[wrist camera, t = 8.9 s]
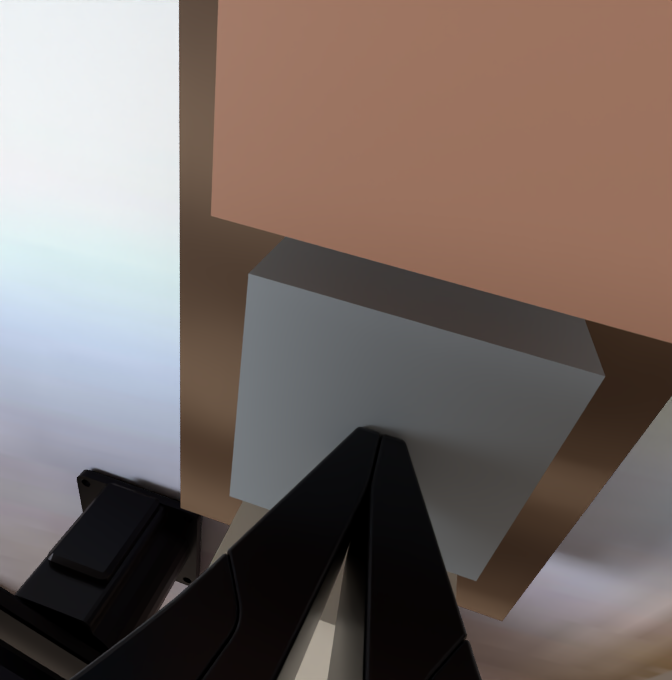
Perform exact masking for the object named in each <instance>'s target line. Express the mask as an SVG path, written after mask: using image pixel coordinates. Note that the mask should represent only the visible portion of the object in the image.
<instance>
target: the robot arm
mask: <svg viewBox="0 0 672 680" xmlns="http://www.w3.org/2000/svg"><path fill="white" fill-rule="evenodd" d="M380 437H381V438H380ZM77 483H78V489H79V494H80V499H81V505H82V510H83V513H82V514H81V515H80V517H79V518H78V519H77V520H76V521H75V522H74V524H73V525H72V526H71V527H70V528H69V530H68V531H67V532H66V533H65V534H64V535H63V537H62V538H61V539H60V540H59V541H58V543H57V544H56V545H55V546H54V547H53V548H52V550H51V551H50V552H49V554H48V556H47V557H46V558H45V559H44V560H43V562H42V563H41V564H40V565H39V566H38V567H37V569H36V570H35V571H34V572H33V573H32V575H31V576H30V577H29V578H28V579H27V581H26V582H25V583H24V584H23V585H22V586H21V588H20V589H19V590H18V591H17V592H16V594H15V595H13V594H11V593H10V592H8V591H6V590H5V589H3V588H2V587H0V680H295V678H296V675H297V673H298V670H299V668H300V665H301V663H302V661H303V658H304V656H305V653H306V651H307V649H308V646H309V644H310V641H311V639H312V637H313V634H314V632H315V629H316V627H317V625H318V622H319V620H320V617H321V615H322V613H323V610H324V608H325V605H326V603H327V601H328V598H329V596H330V593H331V591H332V588H333V586H334V584H335V581H336V579H337V576H338V574H339V572H340V569H341V566H342V564H343V561H344V559H345V556H346V553H347V556H346V561H345V566H344V572H343V579H342V585H341V592H340V599H339V605H338V612H337V619H336V625H335V632H334V638H333V645H332V652H331V658H330V665H329V672H328V678H327V680H482V679H481V676H480V674H479V670H478V667H477V664H476V661H475V658H474V655H473V651H472V648H471V645H470V642H469V641H468V640H465V639H466V637H467V633H466V630H465V627H464V624H463V621H462V618H461V614H460V611H459V608H458V605H457V602H456V599H455V596H454V592H453V589H452V586H451V583H450V580H449V577H448V573H447V570H446V567H445V564H444V561H443V558H442V555H441V551H440V548H439V545H438V542H437V539H436V536H435V533H434V529H433V526H432V523H431V520H430V517H429V514H428V510H427V507H426V504H425V501H424V498H423V495H422V492H421V488H420V485H419V482H418V479H417V476H416V473H415V470H414V466H413V463H412V460H411V457H410V454H409V451H408V447H407V445H406V442H405V441H404V440H402V439H399V438H396V437H393V436H389V435H386V434H384V435H382V436H380V433H379V432H377V431H374V430H371V429H367V428H364V427H357V428H356V429H355V430H354V431H353V432H352V433H350V434H349V435H348V436H347V437H346V438H345V439H344V440H343V441H342V442H341V443H340V444H339V445H338V446H337V447H336V448H335V449H334V450H333V451H331V452H330V453H329V454H328V455H327V456H326V457H325V458H324V459H323V460H322V461H321V462H320V463H319V464H318V465H317V466H316V467H315V468H314V469H313V470H311V471H310V472H309V473H308V474H307V475H306V476H305V477H304V478H303V479H302V480H301V481H300V482H299V483H298V484H297V485H296V486H295V487H294V488H292V489H291V490H290V491H289V492H288V493H287V494H286V495H285V496H284V497H283V498H282V499H281V500H280V501H279V502H278V503H277V504H276V505H275V506H273V507H272V508H271V509H270V510H269V511H268V512H267V513H266V514H265V515H264V516H263V517H262V518H261V519H260V520H259V521H258V522H257V523H256V524H255V525H253V526H252V527H251V528H250V529H249V530H248V531H247V532H246V533H245V534H244V535H243V536H242V537H241V538H240V539H239V540H238V541H237V542H236V543H234V544H233V545H232V546H231V547H230V548H229V549H228V551H227V554H226V553H225V554H223V555H221V556H220V557H219V558H218V559H217V560H216V561H215V562H214V563H213V564H212V565H211V566H210V567H209V568H208V569H207V570H206V571H205V572H203V573H202V574H201V575H200V576H199V568H200V541H201V515H199V514H196V513H193V512H191V511H188V510H185V509H182V508H181V502H179V501H176V500H173V499H170V498H167V497H165V496H162V495H159V494H156V493H153V492H150V491H147V490H145V489H142V488H139V487H136V486H133V485H130V484H128V483H125V482H122V481H119V480H116V479H113V478H110V477H108V476H105V475H102V474H99V473H96V472H93V471H90V470H84V471H83V472H82V473H81V474H80V475H79V476H78V477H77ZM348 547H349V548H348ZM347 550H348V552H347ZM175 581H177V582H180V583H183V584H185V585H188V587H187V588H186V589H184V590H183V591H182V592H181V593H180V594H179V595H178V596H177V597H175V598H174V599H173V600H172V601H170V602H169V603H168V604H167V605H165V606H164V607H163V608H162V609H160V607H161V605H162V603H163V602H164V600H165V598H166V596H167V595H168V593H169V591H170V589H171V587H172V586H173V584H174V582H175ZM159 609H160V610H159ZM158 610H159V611H158Z"/></svg>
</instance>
